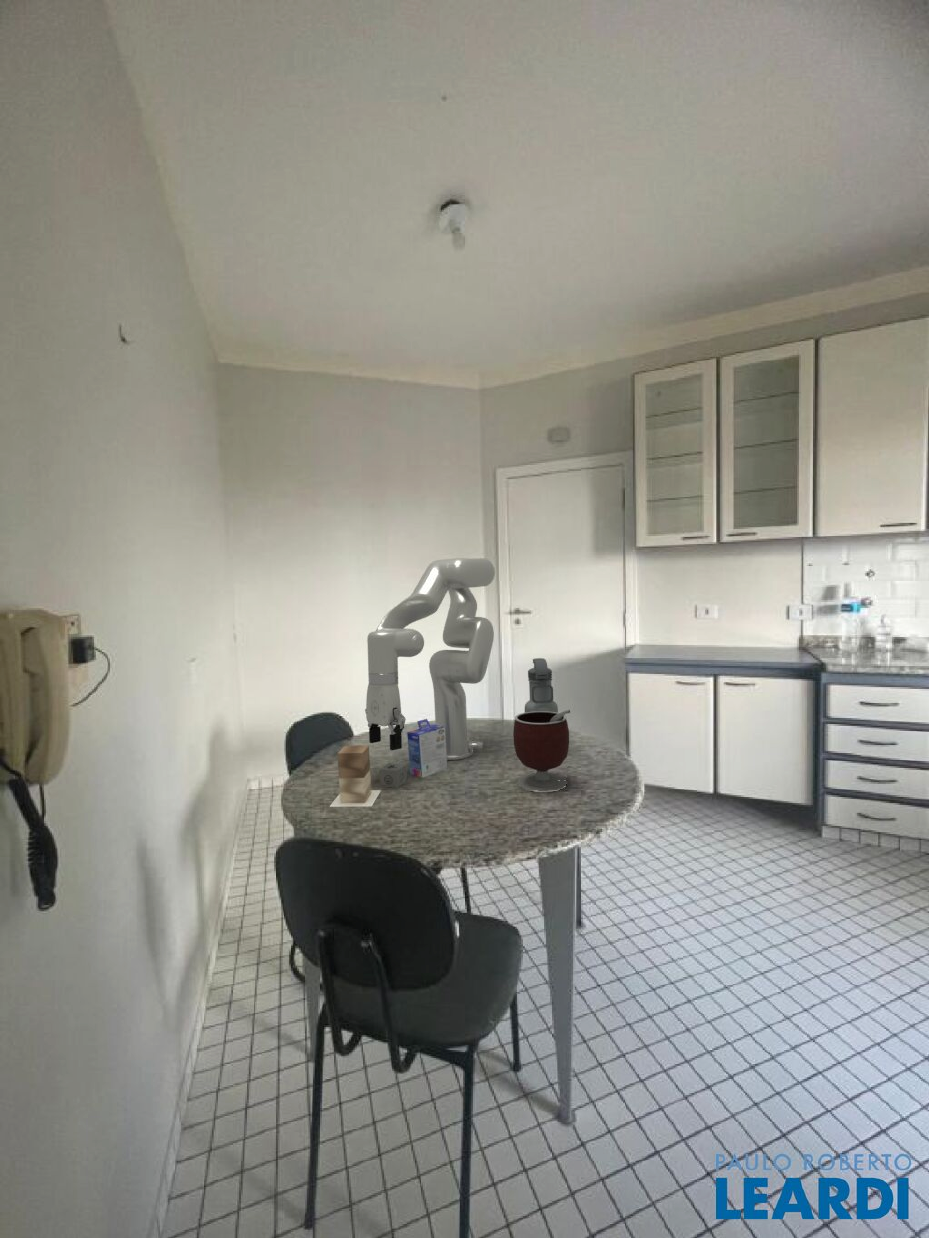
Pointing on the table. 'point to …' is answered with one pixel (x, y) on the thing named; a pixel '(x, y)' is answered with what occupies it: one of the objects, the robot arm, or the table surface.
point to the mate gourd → (541, 747)
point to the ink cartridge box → (427, 749)
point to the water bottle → (540, 688)
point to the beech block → (355, 789)
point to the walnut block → (353, 761)
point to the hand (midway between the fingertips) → (385, 745)
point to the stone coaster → (368, 803)
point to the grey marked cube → (393, 775)
